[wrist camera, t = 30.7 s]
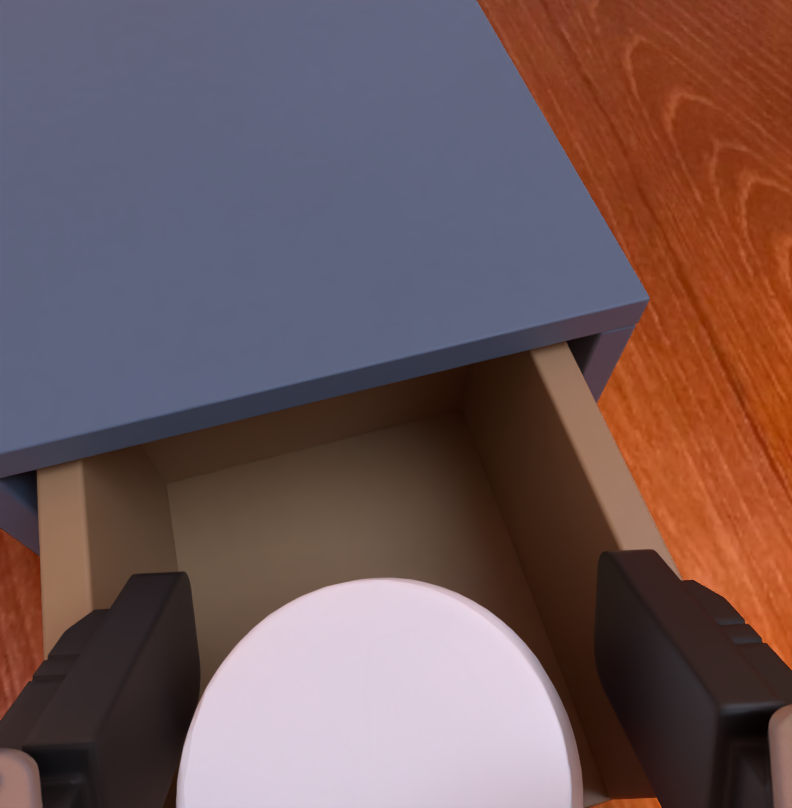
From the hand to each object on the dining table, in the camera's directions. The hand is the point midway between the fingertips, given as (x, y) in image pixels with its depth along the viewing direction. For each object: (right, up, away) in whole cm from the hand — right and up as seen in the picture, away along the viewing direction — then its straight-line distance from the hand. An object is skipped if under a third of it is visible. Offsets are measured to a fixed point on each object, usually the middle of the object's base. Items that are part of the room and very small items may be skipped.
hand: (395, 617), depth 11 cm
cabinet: (-4, +5, +13) cm, 14 cm away
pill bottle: (0, -5, +5) cm, 7 cm away
